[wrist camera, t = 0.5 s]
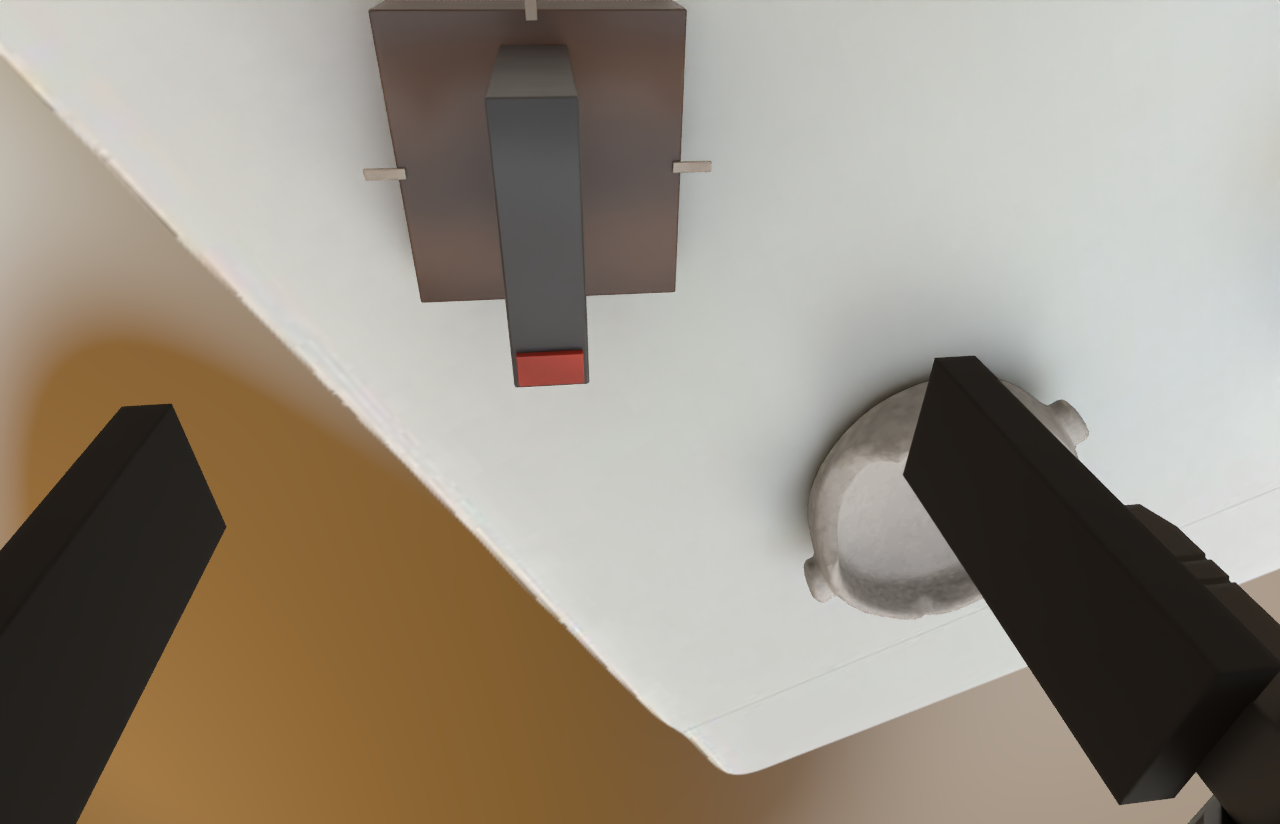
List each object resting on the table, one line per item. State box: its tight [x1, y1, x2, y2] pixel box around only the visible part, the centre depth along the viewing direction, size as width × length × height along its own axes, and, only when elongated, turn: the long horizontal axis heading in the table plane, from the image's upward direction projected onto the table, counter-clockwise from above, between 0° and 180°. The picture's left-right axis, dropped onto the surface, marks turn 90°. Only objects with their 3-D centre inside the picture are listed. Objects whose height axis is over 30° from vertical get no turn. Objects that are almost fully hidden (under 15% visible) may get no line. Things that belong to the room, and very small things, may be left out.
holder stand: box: [363, 0, 711, 302], centre depth 27 cm, size 12×12×3 cm
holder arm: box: [484, 45, 589, 387], centre depth 22 cm, size 8×2×8 cm, turn 179°
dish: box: [804, 380, 1089, 619], centre depth 38 cm, size 14×14×5 cm
